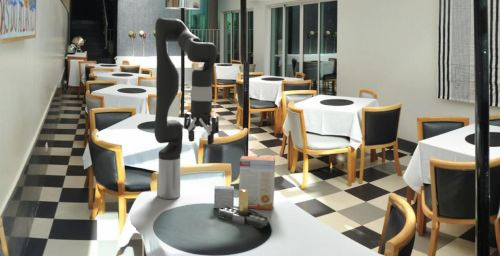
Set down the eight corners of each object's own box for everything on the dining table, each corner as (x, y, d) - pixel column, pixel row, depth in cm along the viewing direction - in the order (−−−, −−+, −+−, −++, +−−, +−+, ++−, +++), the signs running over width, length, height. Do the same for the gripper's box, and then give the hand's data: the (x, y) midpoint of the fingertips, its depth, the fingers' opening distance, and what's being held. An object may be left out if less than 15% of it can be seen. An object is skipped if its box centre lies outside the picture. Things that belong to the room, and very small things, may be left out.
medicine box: (233, 205, 187) (234, 185, 186) (233, 209, 183) (234, 189, 181) (214, 205, 187) (214, 185, 185) (213, 209, 183) (214, 188, 181)
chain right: (245, 224, 168) (245, 216, 168) (252, 220, 172) (252, 212, 172) (261, 228, 165) (261, 221, 164) (268, 224, 169) (268, 217, 168)
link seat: (232, 221, 170) (232, 214, 170) (242, 216, 176) (242, 209, 175) (244, 225, 168) (244, 217, 167) (253, 219, 173) (253, 212, 173)
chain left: (218, 216, 175) (219, 209, 174) (226, 213, 179) (226, 206, 178) (233, 221, 171) (234, 213, 171) (240, 217, 175) (241, 209, 175)
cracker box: (273, 205, 189) (275, 157, 185) (272, 210, 183) (274, 160, 179) (240, 202, 191) (242, 154, 187) (238, 207, 185) (239, 158, 181)
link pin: (236, 221, 171) (237, 190, 169) (241, 218, 174) (242, 188, 172) (244, 223, 169) (245, 192, 167) (249, 220, 172) (250, 190, 170)
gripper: (179, 97, 162) (179, 141, 165) (210, 101, 155) (210, 147, 158) (192, 96, 169) (192, 138, 172) (223, 99, 161) (222, 144, 164)
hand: (200, 142), depth 165 cm, fingers open, 8 cm apart
